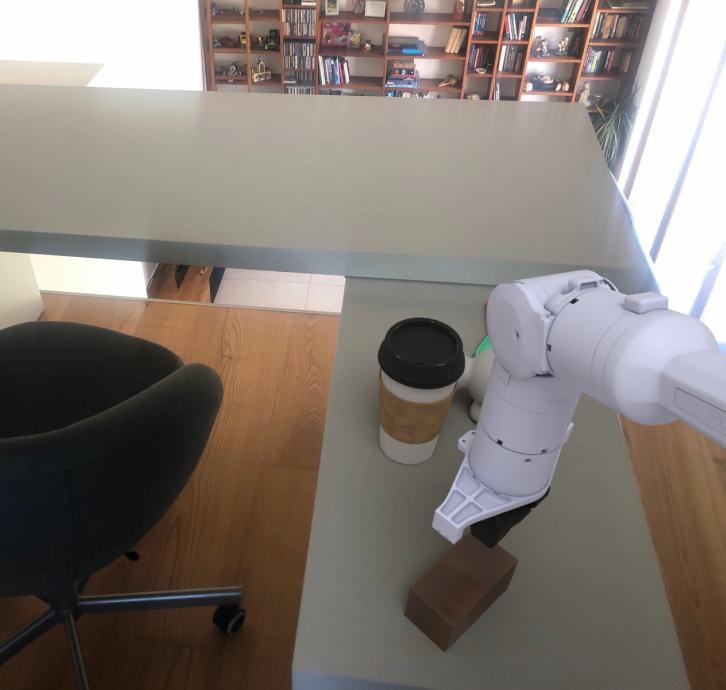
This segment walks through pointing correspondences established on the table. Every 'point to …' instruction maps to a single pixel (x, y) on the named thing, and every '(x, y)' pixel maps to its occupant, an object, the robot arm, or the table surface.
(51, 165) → the table surface
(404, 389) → the coffee cup
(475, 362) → the toy rhinoceros
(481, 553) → the brown wooden block
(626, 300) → the robot arm
